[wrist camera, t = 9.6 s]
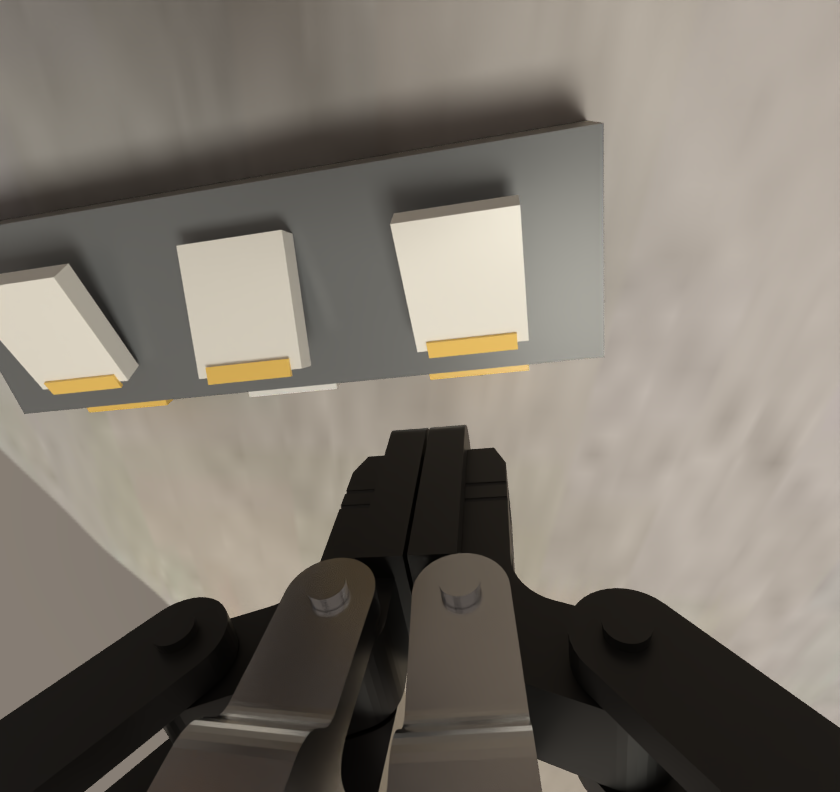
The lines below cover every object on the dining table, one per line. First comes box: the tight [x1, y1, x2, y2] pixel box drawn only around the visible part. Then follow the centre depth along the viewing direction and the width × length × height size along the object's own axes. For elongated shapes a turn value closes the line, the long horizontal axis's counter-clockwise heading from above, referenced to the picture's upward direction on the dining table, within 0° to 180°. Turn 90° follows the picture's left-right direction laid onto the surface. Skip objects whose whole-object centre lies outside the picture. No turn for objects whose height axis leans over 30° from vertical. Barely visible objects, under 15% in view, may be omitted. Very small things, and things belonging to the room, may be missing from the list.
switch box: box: [0, 121, 604, 414], centre depth 28 cm, size 11×32×4 cm, turn 99°
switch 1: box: [0, 263, 139, 395], centre depth 26 cm, size 6×5×1 cm
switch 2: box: [176, 230, 311, 385], centre depth 24 cm, size 6×5×1 cm
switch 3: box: [390, 195, 529, 358], centre depth 23 cm, size 6×5×1 cm
